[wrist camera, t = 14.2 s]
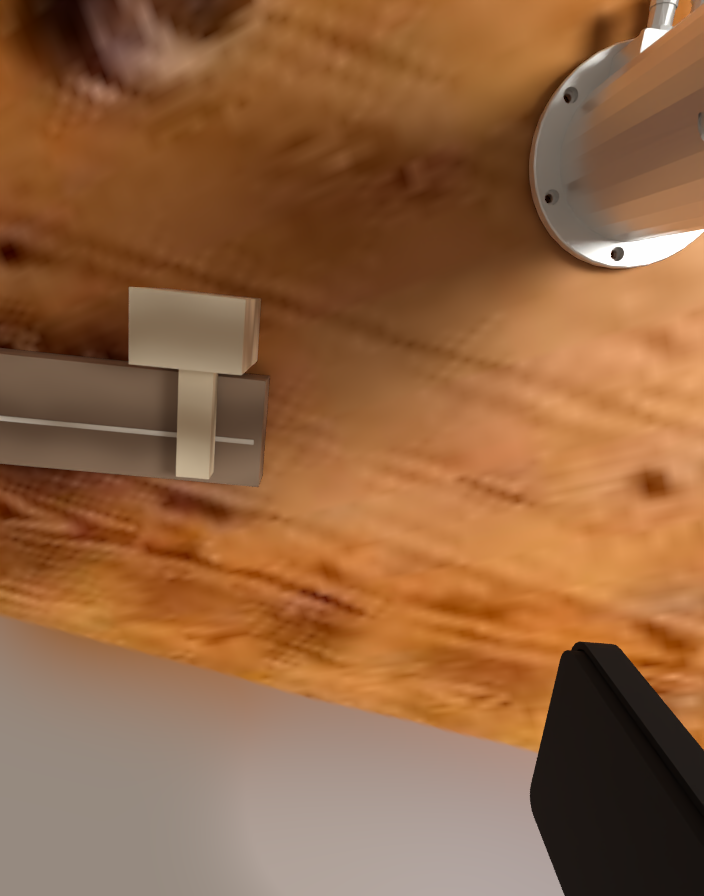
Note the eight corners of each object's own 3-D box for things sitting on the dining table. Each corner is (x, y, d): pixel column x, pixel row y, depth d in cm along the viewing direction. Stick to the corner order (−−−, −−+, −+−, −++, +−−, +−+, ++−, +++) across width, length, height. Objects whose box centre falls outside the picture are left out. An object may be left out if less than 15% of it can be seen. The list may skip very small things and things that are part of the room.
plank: (-108, 336, 36) (-140, 339, 34) (269, 375, 38) (265, 381, 35) (-98, 442, 38) (-127, 452, 35) (262, 475, 39) (258, 487, 37)
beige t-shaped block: (166, 288, 36) (128, 286, 29) (261, 298, 36) (245, 299, 30) (163, 454, 39) (128, 487, 32) (251, 462, 39) (234, 496, 32)
